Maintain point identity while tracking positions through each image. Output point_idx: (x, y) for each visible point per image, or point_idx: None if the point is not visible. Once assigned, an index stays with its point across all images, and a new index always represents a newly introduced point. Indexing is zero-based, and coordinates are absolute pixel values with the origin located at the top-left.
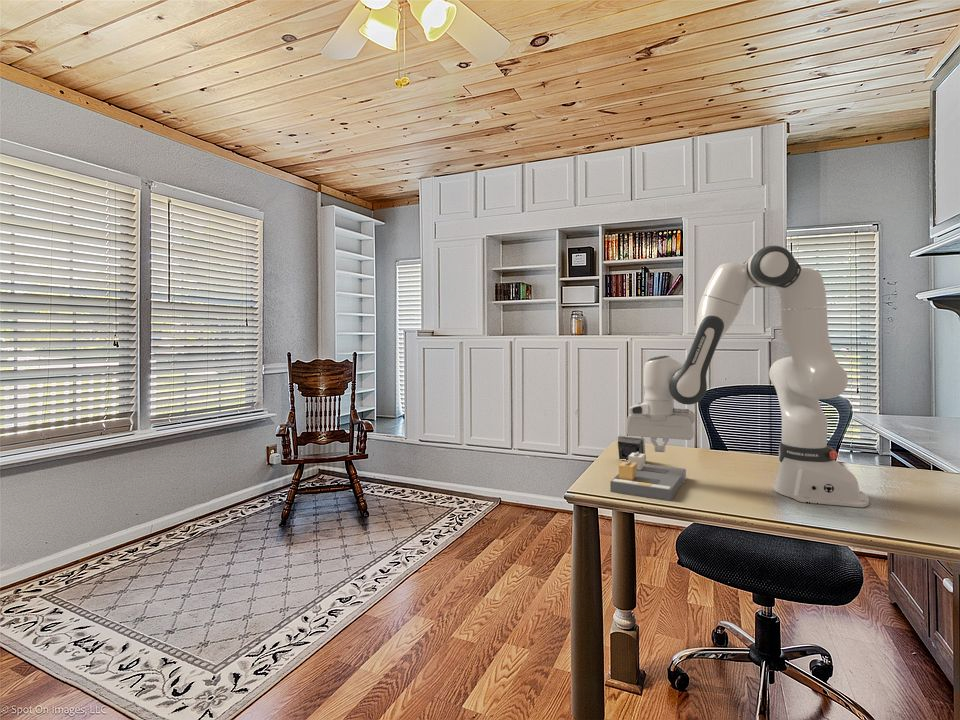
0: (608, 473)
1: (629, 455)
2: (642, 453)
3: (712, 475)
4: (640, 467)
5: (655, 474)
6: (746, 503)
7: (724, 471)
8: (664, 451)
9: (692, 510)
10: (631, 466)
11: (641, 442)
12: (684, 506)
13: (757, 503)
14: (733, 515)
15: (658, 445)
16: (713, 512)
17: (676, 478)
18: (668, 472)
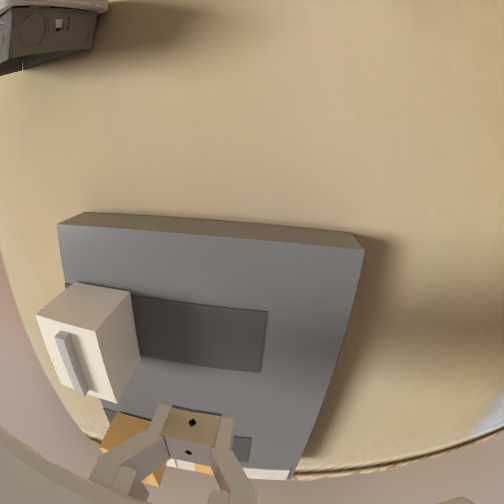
0: (39, 282)
1: (59, 375)
2: (74, 11)
3: (459, 138)
4: (134, 367)
5: (217, 393)
6: (465, 400)
7: (487, 63)
8: (233, 434)
9: (336, 473)
10: (153, 483)
11: (24, 9)
12: (321, 466)
13: (486, 388)
14: (408, 459)
15: (171, 442)
16: (376, 465)
17: (309, 411)
18: (270, 353)
